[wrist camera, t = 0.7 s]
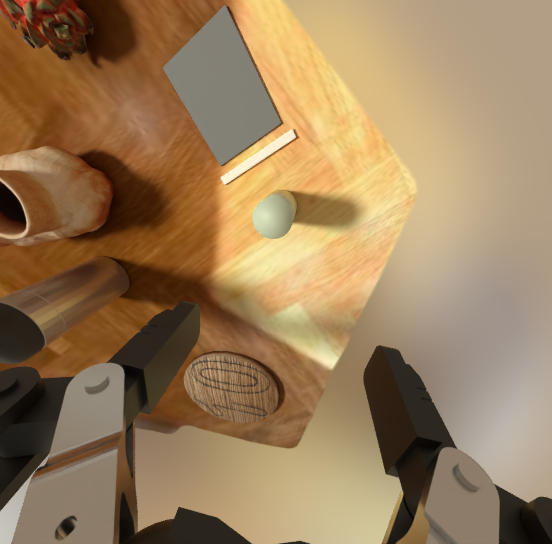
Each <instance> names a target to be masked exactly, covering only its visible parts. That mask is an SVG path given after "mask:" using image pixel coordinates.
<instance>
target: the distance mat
mask: <svg viewBox="0 0 552 544" xmlns="http://www.w3.org/2000/svg"><path fill="white" fill-rule="evenodd" d="M163 70H164V71H165V73H166V75H167V76H168V78H169V80H170V81H171V83H172V85H173V87H174V88H175V90H176V92H177V93H178V95H179V97H180V98H181V100H182V102H183V103H184V105H185V107H186V109H187V110H188V112H189V114H190V115H191V117H192V119H193V120H194V122H195V124H196V125H197V127H198V129H199V130H200V132H201V134H202V136H203V137H204V139H205V141H206V142H207V144H208V146H209V147H210V149H211V151H212V152H213V154H214V156H215V158H216V159H217V161H218V163H219V164H220V166H222V165H223V164H225V163H226V162H228V161H229V160H230V159H232V158H233V157H235V156H236V155H237V154H239V153H240V152H242V151H243V150H244V149H246V148H247V147H249V146H250V145H252V144H253V143H254V142H256V141H257V140H259V139H260V138H261V137H263V136H264V135H266V134H267V133H269V132H270V131H271V130H273V129H274V128H276V127H277V126H278V125H280V124H281V121H280V119H279V117H278V115H277V113H276V111H275V109H274V107H273V104H272V102H271V100H270V98H269V96H268V94H267V92H266V90H265V88H264V85H263V83H262V81H261V79H260V77H259V75H258V73H257V71H256V68H255V66H254V64H253V62H252V60H251V58H250V56H249V54H248V52H247V49H246V47H245V45H244V43H243V41H242V39H241V37H240V35H239V33H238V30H237V28H236V26H235V24H234V22H233V20H232V18H231V16H230V14H229V11H228V9H227V7H226V5H224V6H223V7H222V8H221V9H220V10H219V11H218V12H217V13H216V14H215V15H214V17H213V18H212V19H211V20H210V21H209V22H208V23H207V24H206V25H205V26H204V27H203V28H202V29H201V30H200V31H199V32H198V33H197V34H196V35H195V36H194V37H193V38H192V39H191V40H190V41H189V42H188V43H187V44H186V45H185V46H184V47H183V48H182V49H181V50H180V51H179V52H178V53H177V54H176V55H175V56H174V57H173V58H172V59H171V60H170V61H169V62H168V63H167V64H166V65H165V66H164V67H163ZM295 138H296V136H295V134H294V132H293V130H292V129H291V130H289V131H288V132H287V133H285V134H284V135H282V136H281V137H279V138H278V139H276V140H275V141H273V142H272V143H270V144H269V145H268V146H266V147H265V148H263V149H262V150H260V151H259V152H257V153H256V154H254V155H253V156H252V157H250V158H249V159H247V160H246V161H244V162H243V163H241V164H240V165H238V166H237V167H235V168H234V169H233V170H231V171H230V172H228V173H227V174H225V175H224V176H222V177H221V180H222V181H223V183H224V185H226V184H227V183H229V182H230V181H232V180H233V179H235V178H236V177H238V176H239V175H241V174H242V173H244V172H245V171H247V170H248V169H250V168H251V167H253V166H254V165H256V164H257V163H259V162H260V161H262V160H263V159H265V158H266V157H268V156H269V155H271V154H272V153H274V152H275V151H277V150H278V149H280V148H281V147H283V146H284V145H286V144H287V143H289V142H290V141H292V140H293V139H295Z"/></svg>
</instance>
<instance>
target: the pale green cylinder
mask: <svg viewBox="0 0 552 544" xmlns="http://www.w3.org/2000/svg"><path fill="white" fill-rule="evenodd" d="M296 210H297V201H296V199H295V197H294V196H293V195H292V194H291V193H290V192H288V191H286V190H278V191H275V192H274V193H272V194H271V195H270V196H268V197H267V198H265V199H264V200H263V201H261V202H260V203H259V204H258V205H257V206H256V208H255V209H254V212H253V224H254V227H255V229H256V230H257V231H258V233H259V234H261V235H262V236H264V237H266V238H269V239H277V238H280V237H283V236H284V235H285V234H287V232H288V231H289V230H290V228H291V225H292V222H293V219H294V216H295V213H296Z"/></svg>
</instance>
